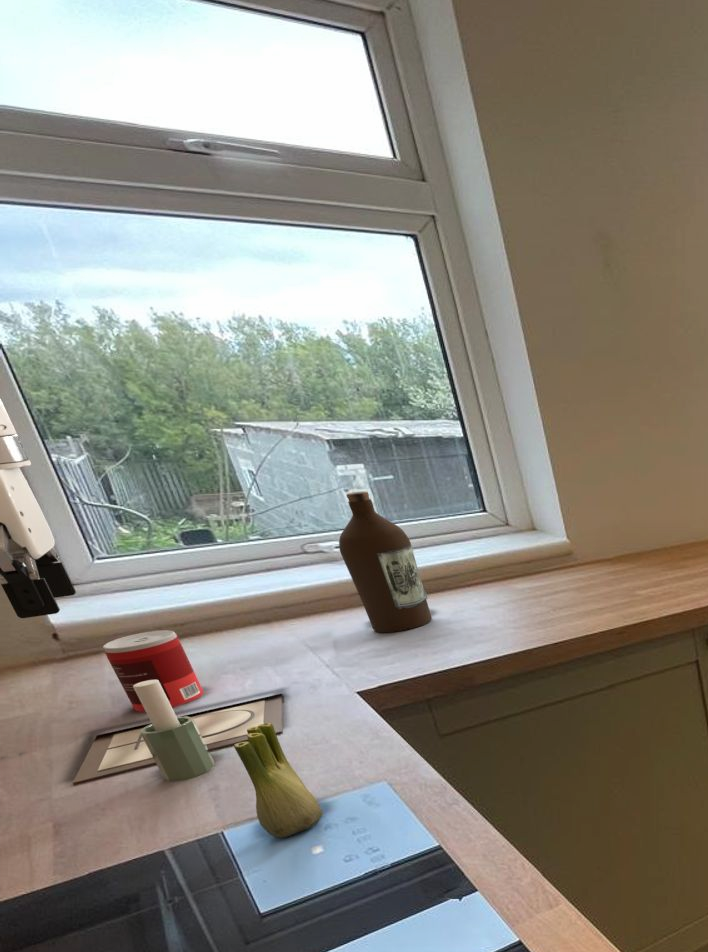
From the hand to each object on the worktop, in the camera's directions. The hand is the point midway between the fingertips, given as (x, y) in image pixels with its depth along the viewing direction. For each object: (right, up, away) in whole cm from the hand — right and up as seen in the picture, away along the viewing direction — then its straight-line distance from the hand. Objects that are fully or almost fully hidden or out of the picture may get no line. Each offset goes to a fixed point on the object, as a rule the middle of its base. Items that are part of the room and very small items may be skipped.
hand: (49, 605), depth 95 cm
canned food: (-13, -13, +27) cm, 32 cm away
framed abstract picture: (0, -17, +16) cm, 23 cm away
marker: (+11, -20, +6) cm, 23 cm away
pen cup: (+11, -21, +6) cm, 24 cm away
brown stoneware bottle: (-3, +2, +60) cm, 60 cm away
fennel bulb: (+35, -25, -7) cm, 44 cm away
